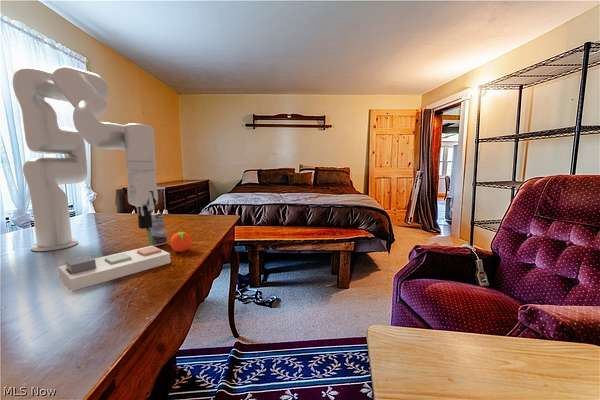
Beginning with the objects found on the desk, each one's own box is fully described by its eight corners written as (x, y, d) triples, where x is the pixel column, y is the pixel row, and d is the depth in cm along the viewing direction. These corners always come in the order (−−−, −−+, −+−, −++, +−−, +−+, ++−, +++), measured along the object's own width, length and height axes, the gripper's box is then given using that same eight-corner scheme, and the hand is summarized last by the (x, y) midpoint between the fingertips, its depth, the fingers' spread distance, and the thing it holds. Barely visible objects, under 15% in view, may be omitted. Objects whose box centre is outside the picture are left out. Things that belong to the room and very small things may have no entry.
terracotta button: (137, 259, 85) (137, 250, 84) (154, 255, 88) (153, 246, 88) (144, 263, 81) (144, 253, 81) (161, 258, 85) (161, 249, 85)
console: (59, 277, 73) (58, 266, 72) (152, 254, 91) (152, 245, 91) (72, 291, 65) (70, 279, 65) (170, 262, 84) (170, 253, 84)
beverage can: (159, 248, 97) (157, 215, 96) (142, 246, 99) (139, 214, 97) (171, 243, 104) (169, 212, 102) (154, 241, 105) (152, 211, 103)
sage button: (105, 267, 78) (104, 257, 77) (125, 262, 82) (124, 253, 81) (112, 272, 75) (111, 261, 74) (131, 266, 79) (131, 256, 78)
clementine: (194, 253, 92) (193, 233, 91) (171, 257, 89) (170, 236, 88) (190, 247, 99) (190, 228, 98) (170, 249, 96) (168, 230, 95)
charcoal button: (66, 271, 71) (65, 260, 71) (90, 265, 75) (89, 255, 75) (72, 276, 68) (70, 265, 68) (96, 270, 72) (95, 259, 71)
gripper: (117, 166, 82) (122, 226, 85) (138, 168, 73) (143, 234, 76) (143, 166, 88) (147, 222, 91) (166, 168, 79) (170, 229, 82)
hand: (145, 227), depth 83 cm, fingers closed
